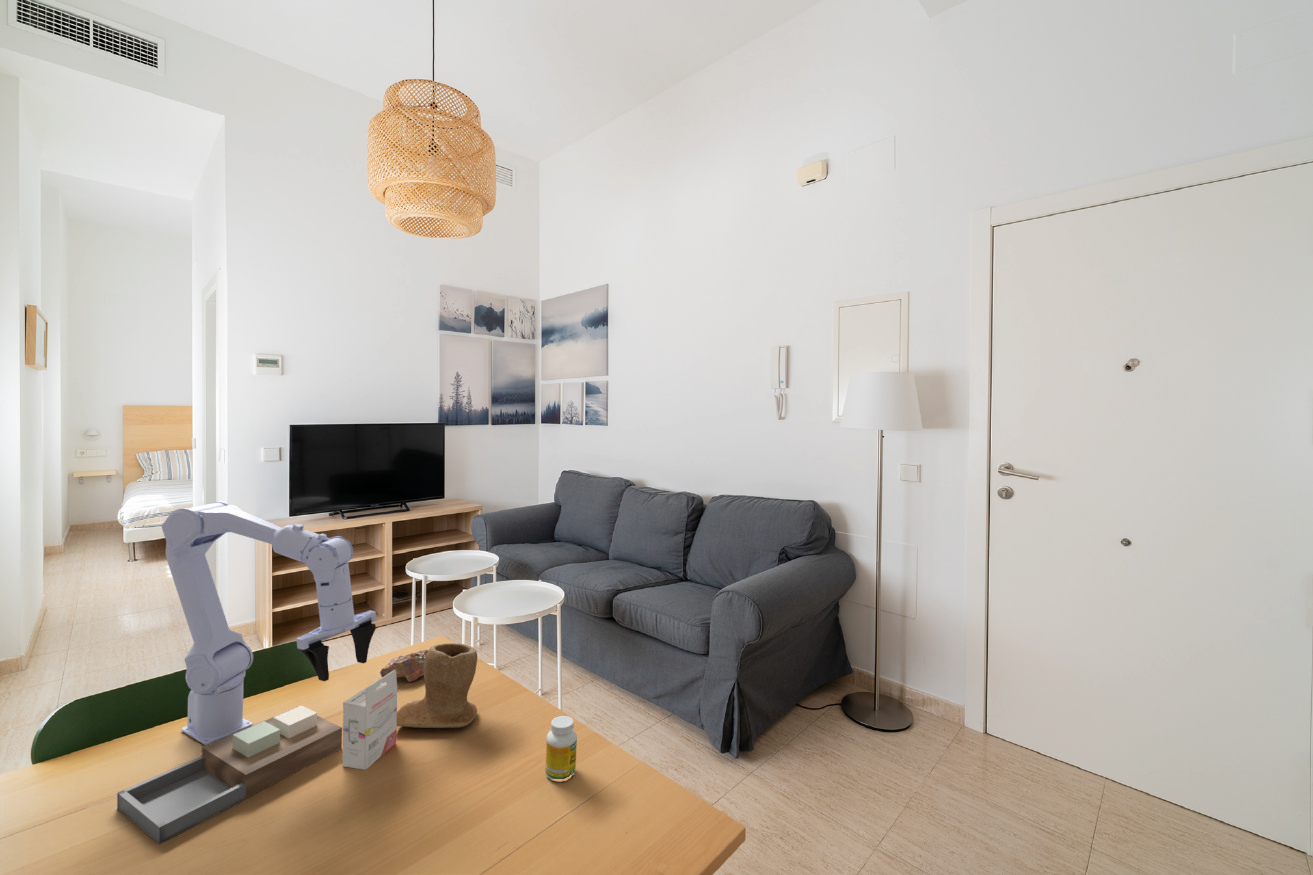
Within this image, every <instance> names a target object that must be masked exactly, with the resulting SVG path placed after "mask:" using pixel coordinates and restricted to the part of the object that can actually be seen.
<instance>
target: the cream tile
mask: <svg viewBox="0 0 1313 875" xmlns="http://www.w3.org/2000/svg"><path fill="white" fill-rule="evenodd" d="M296 707H297V708H296ZM296 707H294V708H291V709H292V710H291V709H289V710H290V711H289V710H287V711H285V713H284V712H282V713H283V714H282V713H280V715H279V714H278V716H277V715H275V716H273V726H274V727H276V728H278V729H280V734H281V735H283V736H285V737H287V738H288V739H289V738H291V737H293V736H295V735H298V734H300V733H302V732H304V731H306V730H308V729H310V728H313V727H315V726H317V716H318V712H316V711H314V710H312V709H310V708H308V707H306V706H304V705H299V707H298V706H296Z"/></svg>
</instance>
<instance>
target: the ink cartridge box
mask: <svg viewBox="0 0 1313 875" xmlns="http://www.w3.org/2000/svg"><path fill="white" fill-rule="evenodd" d="M397 681H398V680H397V677H396V670H393V671H392V672H390V673H389V674H387V675H385V676H384V677H382V676H381V677H380V679H378V680H376V681H374V682H372V683H371V684H370V685H368V686H366V687H365V688H363V689H362V690H360V691H359V692H358V693H356V694H354V695H353V696H351V697H350V698H348V699H346V700H345V701H344V702H342V705H343V706H342V708H343V709H342V710H343V711H342V713H343V714H342V716H343V718H342V767H346V768H352V769H356V770H363V771H365V770H367V769H369V768H370V767H371V765H373V764H374V763H375V762H377V760H379V759H381V757H382V756H384V755H385V753H387V752H388V751H389V750H390V749H391V748H393V747H394V746H395V745H396V744H397V726H396V724H397V711H398V710H397V709H398V682H397Z"/></svg>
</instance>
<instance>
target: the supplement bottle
mask: <svg viewBox="0 0 1313 875" xmlns="http://www.w3.org/2000/svg"><path fill="white" fill-rule="evenodd" d="M574 724H575V722H574V718H572V717H570V716H569V715H559V716H556V717H554V718H553V719H552V720H551V721H550V730H549V731H548V733H547V735H546V744H545V745H546V748H545V749H546V750H545V776H546V775H547V776H546V778H547V777H549V778H550V779H565V778H567V777H569V776H570V775H572V774H573V773H574V772H575V773H576V768H577V767H576V765H577V746H578V745H577V744H578V740H577V739H578V735H577V732H576V730H574V728H575V725H574Z"/></svg>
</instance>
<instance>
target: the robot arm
mask: <svg viewBox="0 0 1313 875" xmlns="http://www.w3.org/2000/svg"><path fill="white" fill-rule="evenodd" d="M304 527H305V526H304V525H303V524H301V523H296V524H288V525H286V526H283V527H281V526H279V525H276V524H275V523H272V522H270V521H267V520H265V519H263V518H260V517H258V516H256V515H254V514H251V513H248V512H246V511H245V510H242V509H240V507H239V506H238V505H235V504H230V503H228V502H225V501H222V500H221V501H220V500H219V501H214V502H211V503H207V504H201V505H196V506H190V507H181V508H177V509H175V510H172V512H171V513H170V514H169V515H168V517H166V519H165V521H164V522H163V523H162V525H161V530H162V533H163V536H164V539H165V541H166V544H165V558H166V560H167V564H168V567H169V570H170V574H171V577H172V579H173V583H174V587H175V589H176V593H177V594H178V599H179V601H180V604H181V607H182V610H183V613H184V616H185V619H186V623H187V625H188V628H189V632H190V635H191V638H192V640H193V644H192V646H191V648H190V649H189V651H188V653H186V655H185V657H184V663H185V668H186V671H185V677H184V678H185V682H186V684H187V686H188V689H190V691H189V693H188V696H187V725H186V726H183V727H181V732H183V733H185V734H186V735H188V736H190V737H191V738H193V739H195V741H197V742H199V743H201V745H202V744H203V745H204V746H207V745H209V744H211V743H214V742H216V741H218V740H221V739H223V738H225V737H228V736H230V735H232V734H235V733H237V732H239V731H242V730H244V729H247V728H249V727H251V726H254V724H253V723H254V722H252V721H249V720H248V719H246V718H244V717H243V715H244V679H245V677H246V671H247V670H248V669H250V667H251V666H252V664H253V661H254V653H253V651H252V649H251V647H250V646H249V645H248V644H247V643H246V642H245V640H244V638H243V635H242V633H239V632H236V631H233V630H231V629H230V628H229V624H228V622H227V619H226V615H225V612H224V608H223V605H222V602H221V600H220V597H219V594H218V591H217V588H216V585H215V580H214V578H213V576H212V572H211V569H210V565H209V562H208V560H207V556H206V553H207V552H208V551H209V549H210V548H211V547H212V545H213V544H214V542H216V541H217V540H219V539H220V538H221V537H223V536H224V535H225V534H226V533H233V534H236V535H240V536H242V537H243V536H244V537H245V538H246V537H247V538H249V539H253V540H257V541H260V542H263V543H267V544H270V545H271V548H272V550H273V552H274V553H276V554H279V555H281V556H284V557H287V558H289V559H292V560H294V561H295V560H296V561H298V562H300V563H303V564H305V565H306V567H307V568H308V570H309V571H310V572H311V573H312V575H313V579H314V580H313V581H315V587H316V595H317V596H316V598H317V606H318V615H319V623H320V626H319V627H317V628H315V629H313V630H312V631H310V632H308V633H305V634H303V635H302V636H299V637H296V647H297V648H296V649H298V650H300V651H301V652H302V653H303V654H304V656H305V657H306V658H307V659H308V661H309V662H310V663H311V665H312V667H313V669H314V670H315V673H316V676H317V678H318V681H321V682H327V681H329V680H330V672H329V664H328V660H329V659H328V658H329V650H330V646H329V645H324V641H326V640H328V639H331V638H333V637H336V636H338V635H341V634H343V633H346V632H349V631H350V634H351V637H352V640H353V644H354V651H355V658H356V662H357V663H360V664H366V663H367V660H368V654H369V649H370V644H371V641H372V638H373V636H374V634H375V632H376V630H377V627H376V624H375V622H376V621H377V612H376V611H374V610H367V611H365V612H361V613H358V614H355V609H354V601H353V594H352V593H353V592H352V584H351V574H350V567H349V566H350V565H349V562H350V561H351V560H352V558H353V556H354V548H353V545H352V543H351V542H350V541H349V540H348V539H347V538H344V536H341V535H338V536H333V537H328V536H327V534H326V533H320V534H319V533H317V532H314V531H310V530H308V529H305V528H304Z"/></svg>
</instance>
